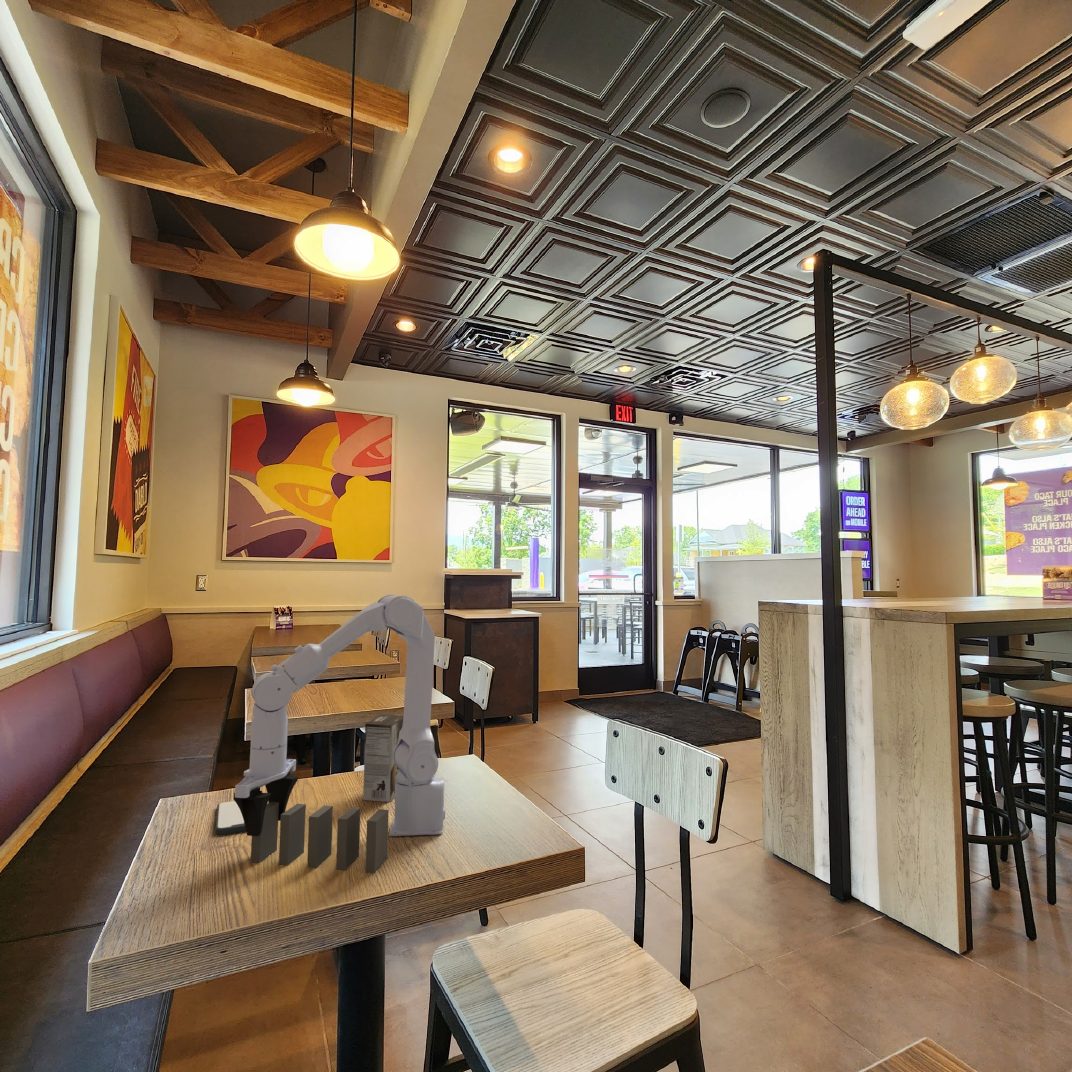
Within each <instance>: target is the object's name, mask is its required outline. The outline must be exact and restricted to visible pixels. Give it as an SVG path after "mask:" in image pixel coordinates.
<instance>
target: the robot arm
mask: <svg viewBox="0 0 1072 1072" xmlns="http://www.w3.org/2000/svg"><path fill="white" fill-rule="evenodd" d="M387 629H389V630H391V631H394V632H395V633H396V634H397V636H399V637H400V638H401V639H402V640H403V641H404V642H405V643H406V645H407V649H406V664H405V665H406V667H405V668H406V669H405V681H404V682H405V683H404V684H405V685H404V700H403V701H404V702H403V716H404V717H403V727H402V729H401V731H400V733H399V740H398V743H397V745H396V747H395V749H394V752H393V761H394V764H395V765H396V767H397V768H399V769H398V773H397V775H396V777H395V798H394V813H393V814H394V819H393V821H392V825H391V827H390V831H389V836H390V837H401V836H404V837H405V836H407V837H409V836H427V835H428V836H430V835H432V836H433V835H434V836H435V835H441V834H443V829H444V820H445V819H446V809H445V778H442V777H441V778H439V777H435V775H436V773H437V772H438V768H439V759H438V755H437V753H436V751H435V739H434V736H433V733H432V730H431V719H432V718H431V716H432V698H433V697H432V695H433V681H434V680H433V678H434V677H433V676H434V662H435V661H434V657H435V642H436V641H435V640H436V639H435V632H434V630H433V628H432V626H431V625H430V622H429V620H428V619H427V617H426V614H425V612H424V607H423V606H421V604H419V603H418V602H417V601H415V600H414V599H413V598H412V597H410V596H408V595H395V594H386V595H384V596H382V597H380V598H379V599H378V600H377V602H376V601H374V602H372V603H370V604H369V605H367V606H365V607H364V608H363V609H362V610H360V611H359V612H358V613H356V614H355V615H354V616H352V618H350V619H348V621H346V622H345V623H344V624H342V625H341V626H340V627H339V628H337V629H336V630H335V631H334V632H333V633H331V634H330V635H328V636H327V637H326V638H325V639H324V640H322V641H321V642H319V643H318V644H317V643H316V644H315V643H307V644H305V645H304V646H302V645H298V646H297V647H295V648H294V651H295V653H292V655H290V656H289V657H288V658H286V659H285V660H283V661H282V662H281V663H280V664H278V665H277V664H273V665H272V666H271V667H270V670H271V671H272V672H266V673H263V674H261V675H260V676H258V677H257V678H256V679H255V681H254V683H253V685H252V688H251V689H250V691H251V692H250V694H251V698H252V699H253V701H254V702H255V703H253V708H252V718H251V722H250V723H251V725H250V726H251V728H250V751H249V753H250V754H249V768H248V769H246V770H244V771H243V776H244V777H243V779H241V781H240V782H238V783H237V784H235V785H234V786H235V788H234V792H233V801H235V802H236V804H237V805H238V807H239V809H240V811H241V813H242V816H243V820H244V824H245V828H246V832H245V833H246V835H247V837H248V836H249V837H252V836H259V835H261V832H262V828H263V820H264V813H265V809H266V806H267V804H268V803H270V802H279V814H278V822H279V821H280V820H281V814H282V813H284V812H285V811H287V806H288V802H289V799H290V796H291V794H292V792H293V789H294V787H295V785H296V784H297V782H298V779H299V776H298V774H293V772H295V771H296V770H297V759H295V758H294V759H293V758H287V754H288V753H287V752H288V726H289V725H288V724H289V716H288V704H289V703H290V701H291V699H292V695H293V693H297V692H299V691H300V690H302V689H303V688H304V687H306V686H307V685H308V684H310V683H311V682H312V681H313V680H315V679H317V677H319V676H320V675H322V674H323V673H324V672H325V671H327V670H328V668H329V664H330V660H331V658H332V657H334V656H335V655H337V654H338V653H339V652H341V651H342V650H344V649H345V648H346V647H347V648H348V646H350V645H351V644H352V643H354V642H355V641H356V640H358V639H359V638H361V637H362V636H364V635H365V634H367V633H369V632H377V631H386V630H387ZM262 787H265V789H266V792H263V790H261V788H262Z"/></svg>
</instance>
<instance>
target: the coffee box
mask: <svg viewBox="0 0 1072 1072" xmlns="http://www.w3.org/2000/svg"><path fill="white" fill-rule="evenodd" d="M403 717H404V715H397V714H380V715H378V716H376V717H375V718H373V719H371V720H370V721H368V722H366V723H365V725H364V727H365V729H364V755H363V756H364V759H363V760H364V761H363V762H364V763H363V787H362V789H363V791H362V795H363V796H362V800H363V801H372V802H386V803H387V802H388V803H389V802H392V800H395V777H396V775H397V773H398V769H399V768H397V767H396V765H395V764H394V761H393V752H394V749H395V747H396V745H397V743H398V740H399V733H400V731H401V729H402V727H403Z"/></svg>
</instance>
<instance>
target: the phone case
mask: <svg viewBox="0 0 1072 1072" xmlns="http://www.w3.org/2000/svg"><path fill="white" fill-rule="evenodd" d="M215 816H216V818H215V819H214V820H215V821H214V822H215V824H214V825H215V832H214V833H215V834H216V835H215V836H217V835H218V836H217V837H223V835H224V836H228V835H235V834H234V833H236V834H242V833H246V828H245V824H244V820H243V816H242V813H241V811H240V809H239V807H238V805H237V804H236V802H235V801H234V800H231V801H223V802H220V803H217V808H216V815H215ZM241 832H242V833H241Z"/></svg>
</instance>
